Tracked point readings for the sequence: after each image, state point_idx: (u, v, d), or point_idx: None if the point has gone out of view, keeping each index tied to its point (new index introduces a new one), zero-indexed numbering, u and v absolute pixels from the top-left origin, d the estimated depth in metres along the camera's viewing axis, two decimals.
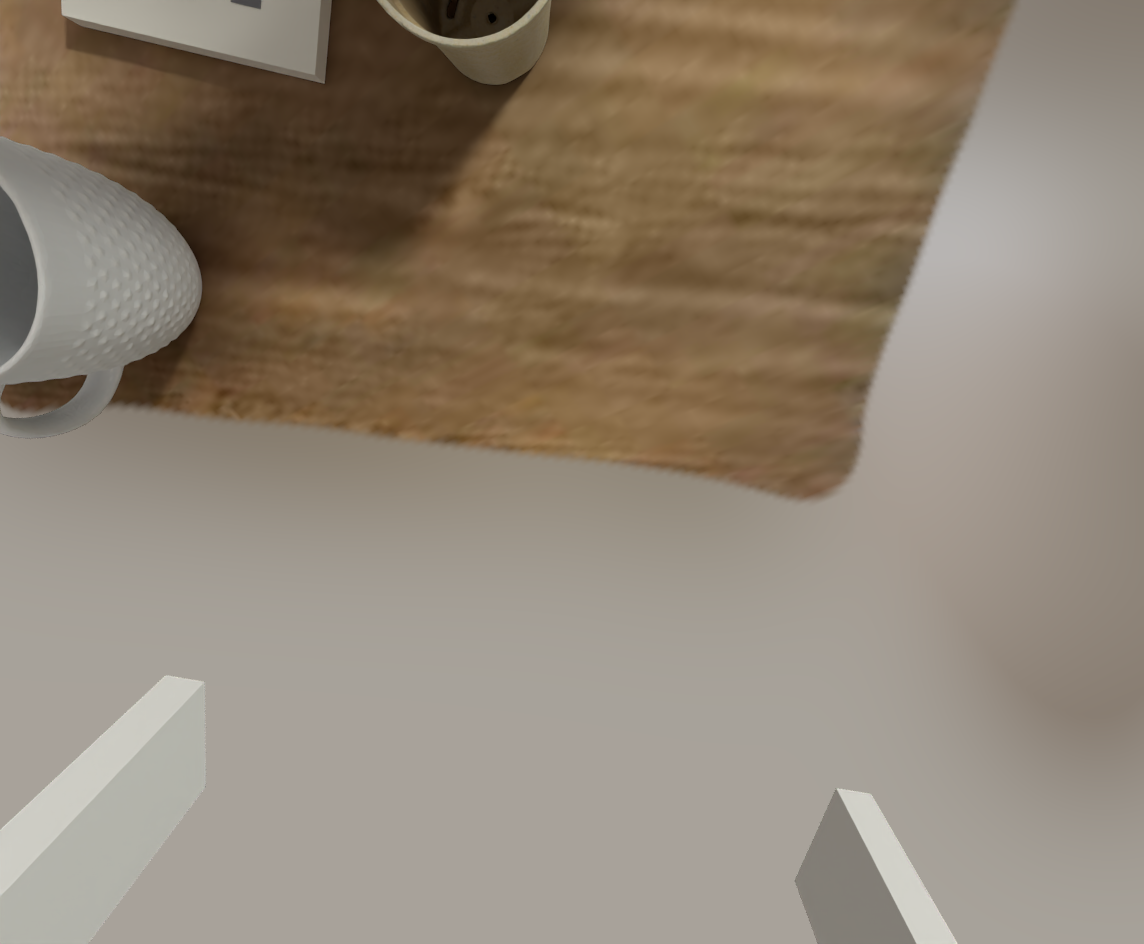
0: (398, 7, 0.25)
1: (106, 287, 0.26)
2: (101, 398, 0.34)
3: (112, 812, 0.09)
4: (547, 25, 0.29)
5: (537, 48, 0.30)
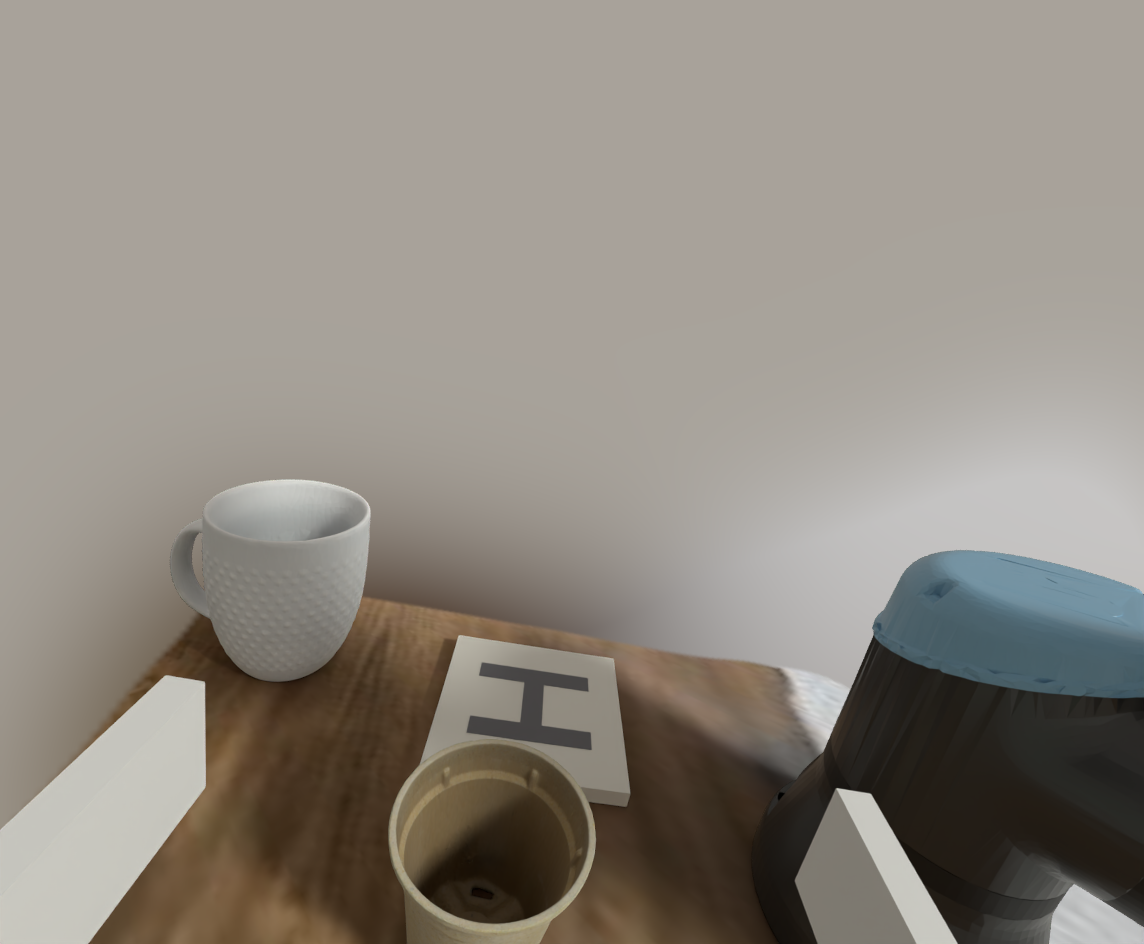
0: (437, 786, 0.29)
1: (252, 582, 0.37)
2: (193, 601, 0.44)
3: (112, 812, 0.09)
4: None
5: None
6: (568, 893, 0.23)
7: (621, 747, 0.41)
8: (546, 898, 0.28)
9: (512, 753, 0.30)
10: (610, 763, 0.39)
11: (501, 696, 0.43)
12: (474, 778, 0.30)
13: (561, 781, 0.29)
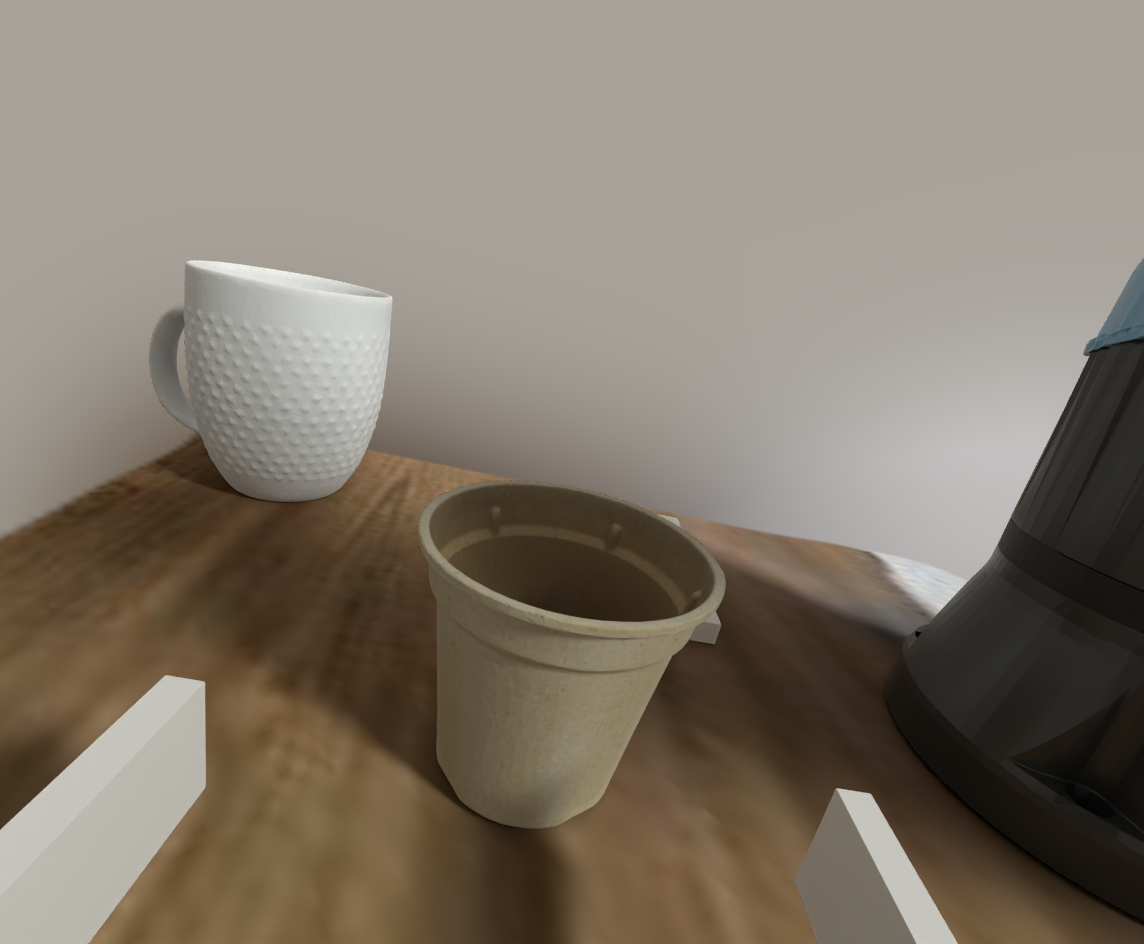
0: (482, 530, 0.20)
1: (243, 339, 0.29)
2: (176, 409, 0.36)
3: (112, 812, 0.09)
4: (513, 784, 0.16)
5: (477, 769, 0.16)
6: (698, 608, 0.15)
7: None
8: None
9: (585, 503, 0.22)
10: None
11: None
12: (531, 533, 0.21)
13: (656, 530, 0.20)
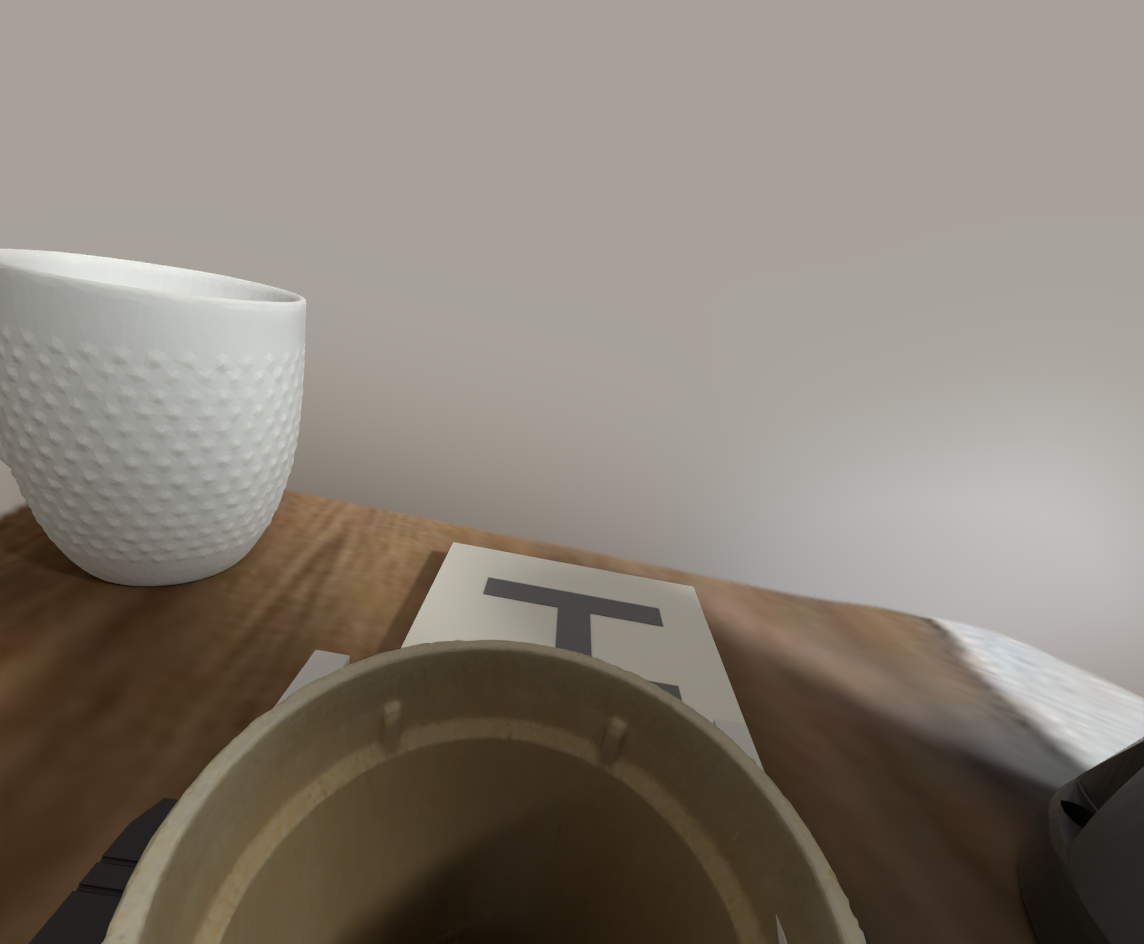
0: (364, 750, 0.11)
1: (55, 366, 0.19)
2: None
3: None
4: None
5: None
6: None
7: (736, 712, 0.23)
8: None
9: (562, 676, 0.12)
10: None
11: (520, 624, 0.25)
12: (464, 736, 0.12)
13: (694, 747, 0.11)
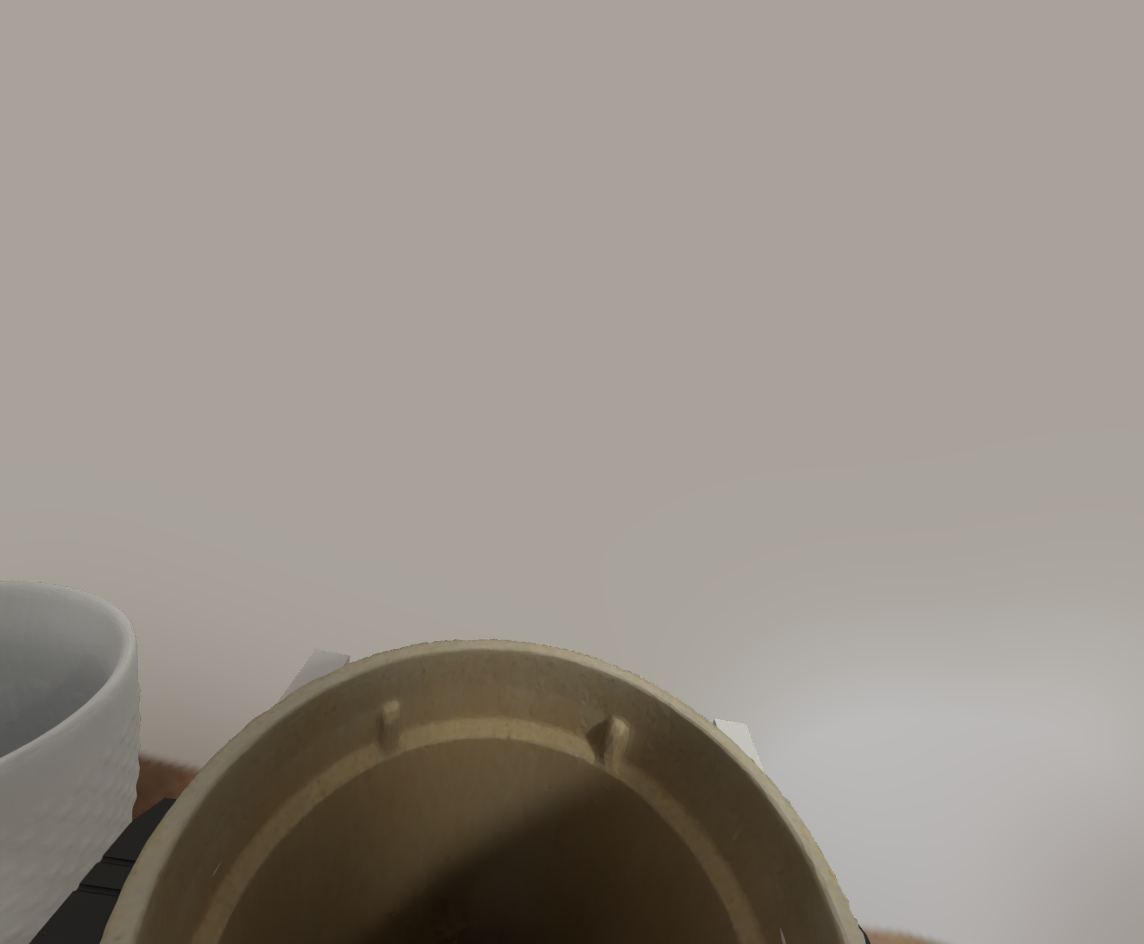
0: (362, 750, 0.11)
1: None
2: None
3: None
4: None
5: None
6: None
7: None
8: None
9: (561, 676, 0.12)
10: None
11: None
12: (463, 735, 0.12)
13: (693, 747, 0.11)
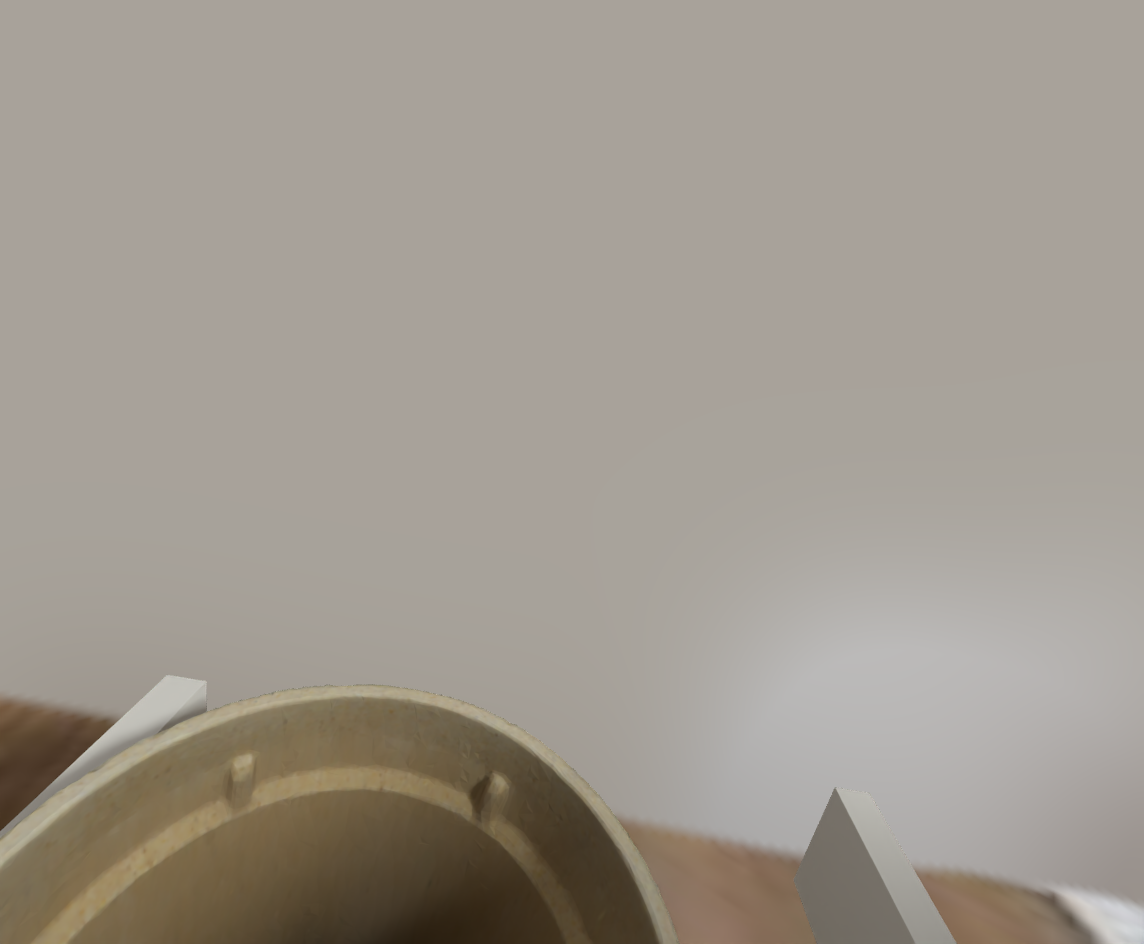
0: (206, 810, 0.10)
1: None
2: None
3: None
4: None
5: None
6: None
7: None
8: None
9: (443, 727, 0.11)
10: None
11: None
12: (330, 787, 0.11)
13: (571, 814, 0.10)
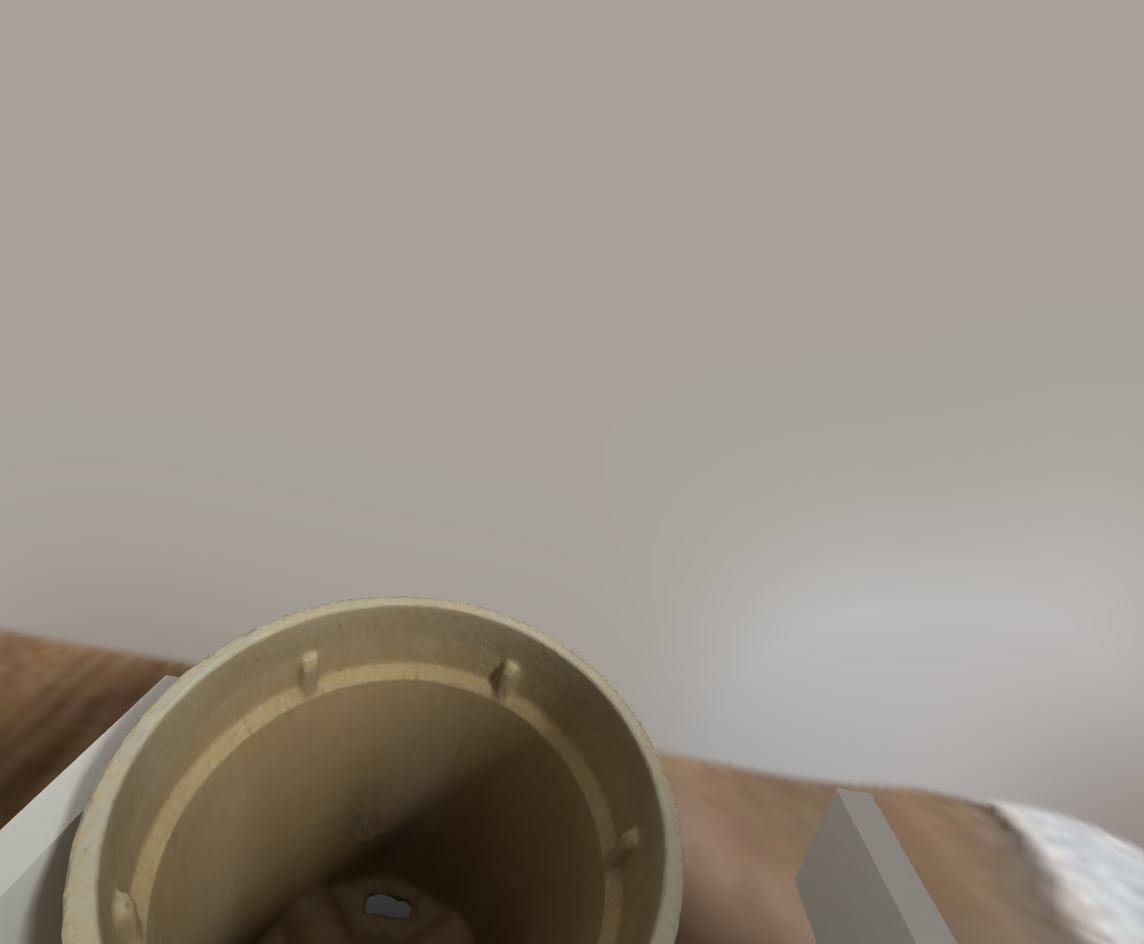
0: (284, 694, 0.12)
1: None
2: None
3: None
4: None
5: None
6: None
7: None
8: (532, 925, 0.13)
9: (464, 627, 0.14)
10: None
11: None
12: (376, 678, 0.14)
13: (572, 682, 0.13)
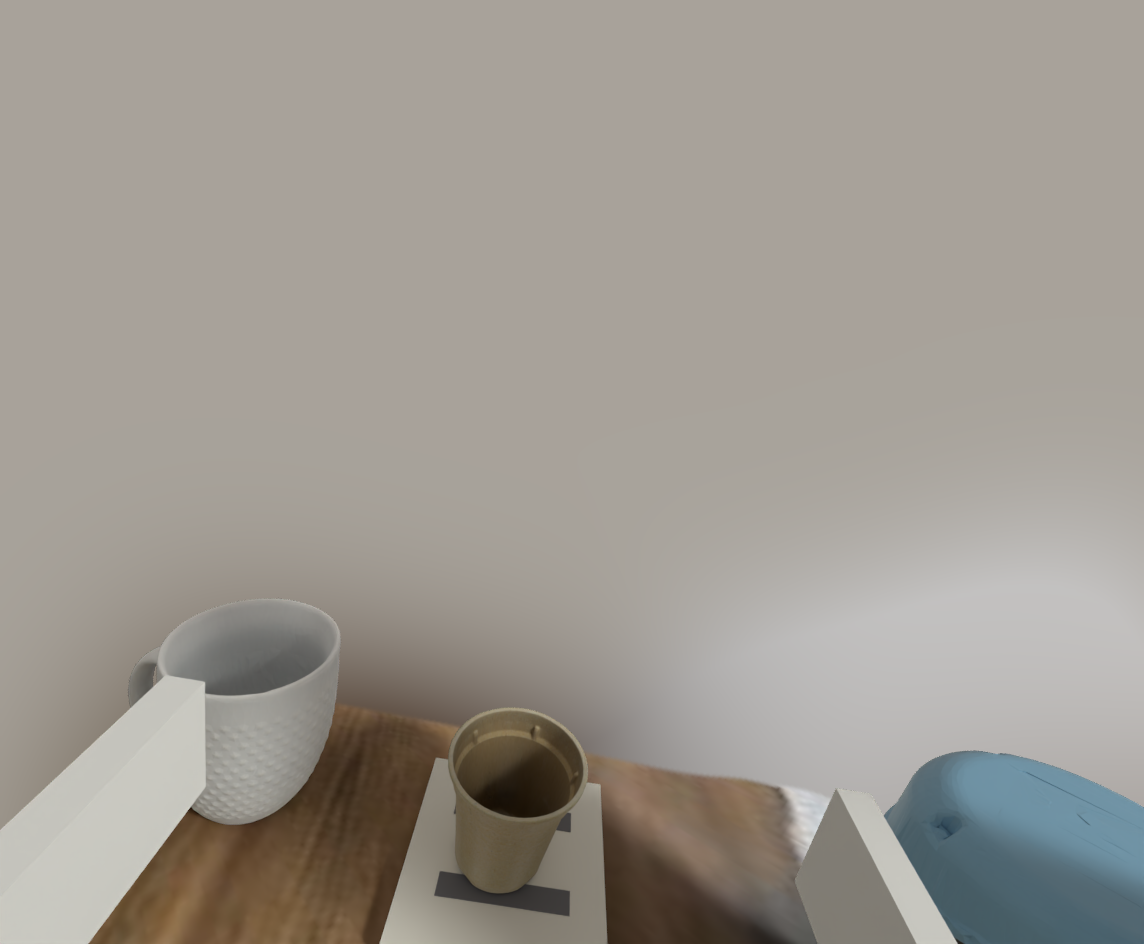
0: (469, 744, 0.40)
1: (205, 737, 0.34)
2: None
3: (112, 812, 0.09)
4: (499, 877, 0.36)
5: (482, 872, 0.36)
6: (575, 796, 0.36)
7: (602, 911, 0.38)
8: (551, 811, 0.40)
9: (520, 716, 0.42)
10: (589, 935, 0.36)
11: None
12: (493, 736, 0.41)
13: (557, 731, 0.41)
